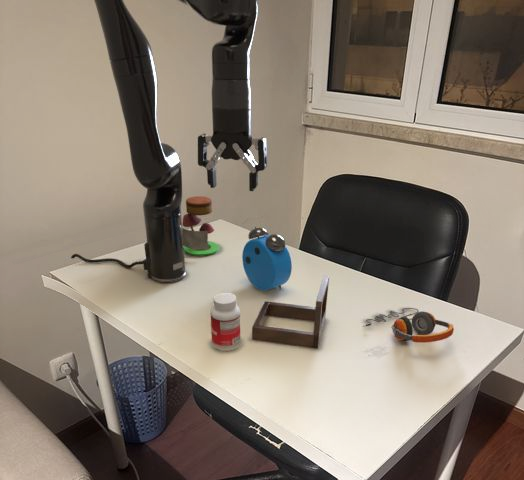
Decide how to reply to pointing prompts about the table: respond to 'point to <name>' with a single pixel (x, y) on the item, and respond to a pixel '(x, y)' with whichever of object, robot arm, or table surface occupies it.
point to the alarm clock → (266, 260)
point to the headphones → (417, 327)
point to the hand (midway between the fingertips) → (232, 188)
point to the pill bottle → (225, 322)
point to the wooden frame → (293, 312)
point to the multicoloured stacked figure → (198, 240)
